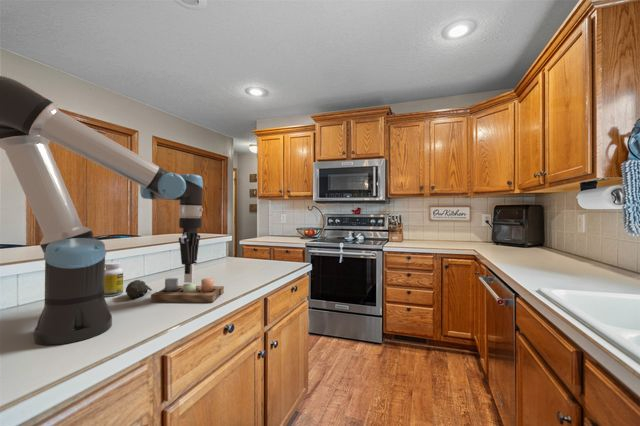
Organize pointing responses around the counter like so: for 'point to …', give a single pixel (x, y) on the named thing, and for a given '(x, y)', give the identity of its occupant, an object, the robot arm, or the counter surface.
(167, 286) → the grey cylinder
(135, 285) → the hand grenade
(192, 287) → the sage button
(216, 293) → the wooden tray
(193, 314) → the counter surface
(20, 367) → the counter surface
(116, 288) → the pill bottle
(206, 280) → the terracotta button
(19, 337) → the counter surface
